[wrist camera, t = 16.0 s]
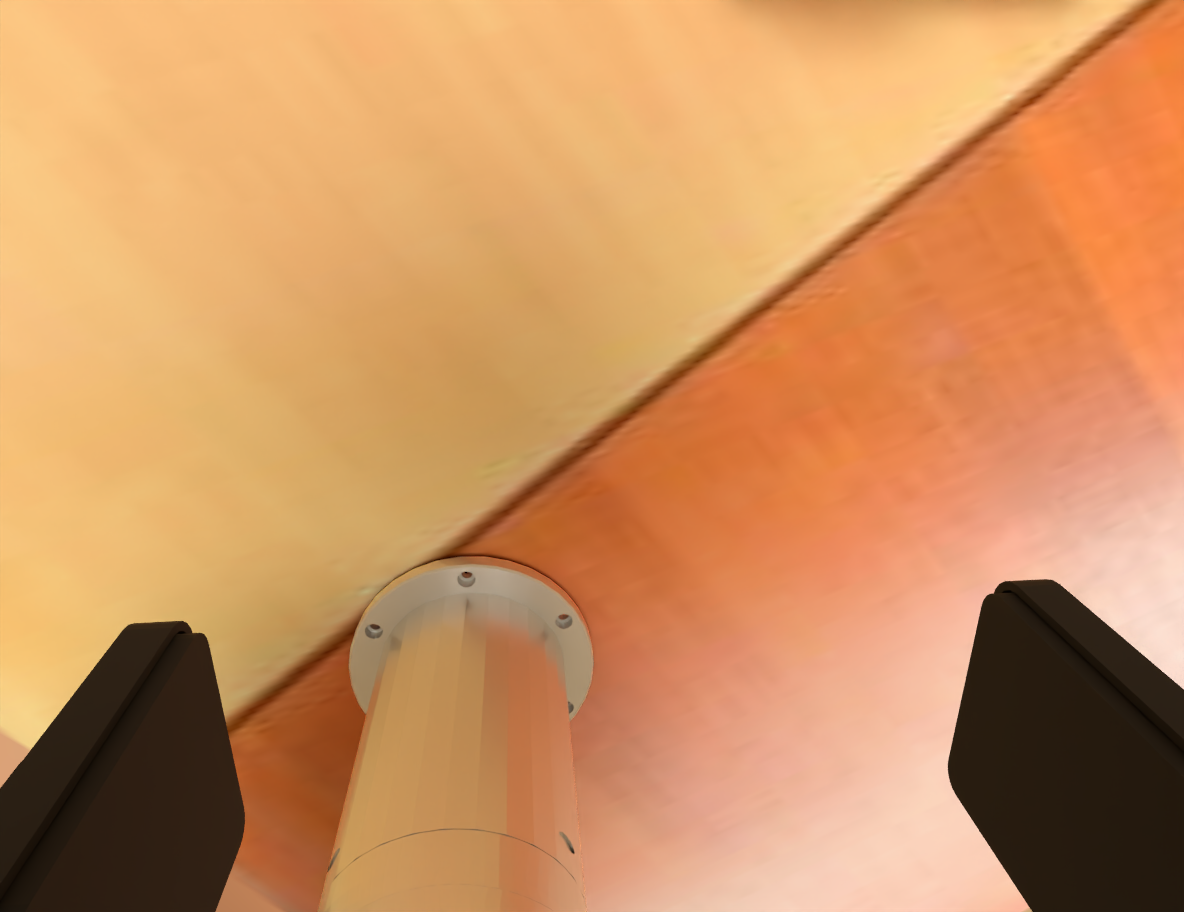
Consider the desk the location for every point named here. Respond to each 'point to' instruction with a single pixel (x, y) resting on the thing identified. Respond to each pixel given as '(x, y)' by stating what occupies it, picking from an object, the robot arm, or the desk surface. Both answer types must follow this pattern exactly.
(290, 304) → the desk surface
